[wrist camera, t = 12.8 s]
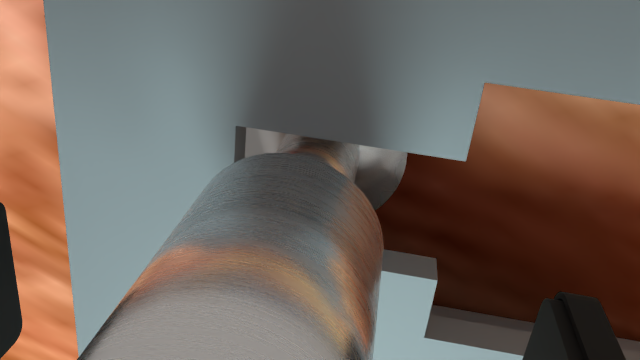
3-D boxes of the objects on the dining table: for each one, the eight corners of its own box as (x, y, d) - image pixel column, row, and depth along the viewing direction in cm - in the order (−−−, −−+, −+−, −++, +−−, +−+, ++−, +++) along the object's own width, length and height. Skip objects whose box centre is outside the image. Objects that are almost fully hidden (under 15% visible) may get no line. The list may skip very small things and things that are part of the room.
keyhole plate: (867, -114, 14) (1083, -121, 9) (635, 387, 21) (693, 520, 16) (135, -193, 15) (20, -232, 11) (149, 297, 22) (82, 396, 18)
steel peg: (421, 61, 17) (430, 401, 5) (394, 205, 19) (360, 671, 8) (260, 39, 18) (-48, 310, 6) (252, 182, 20) (12, 589, 8)
